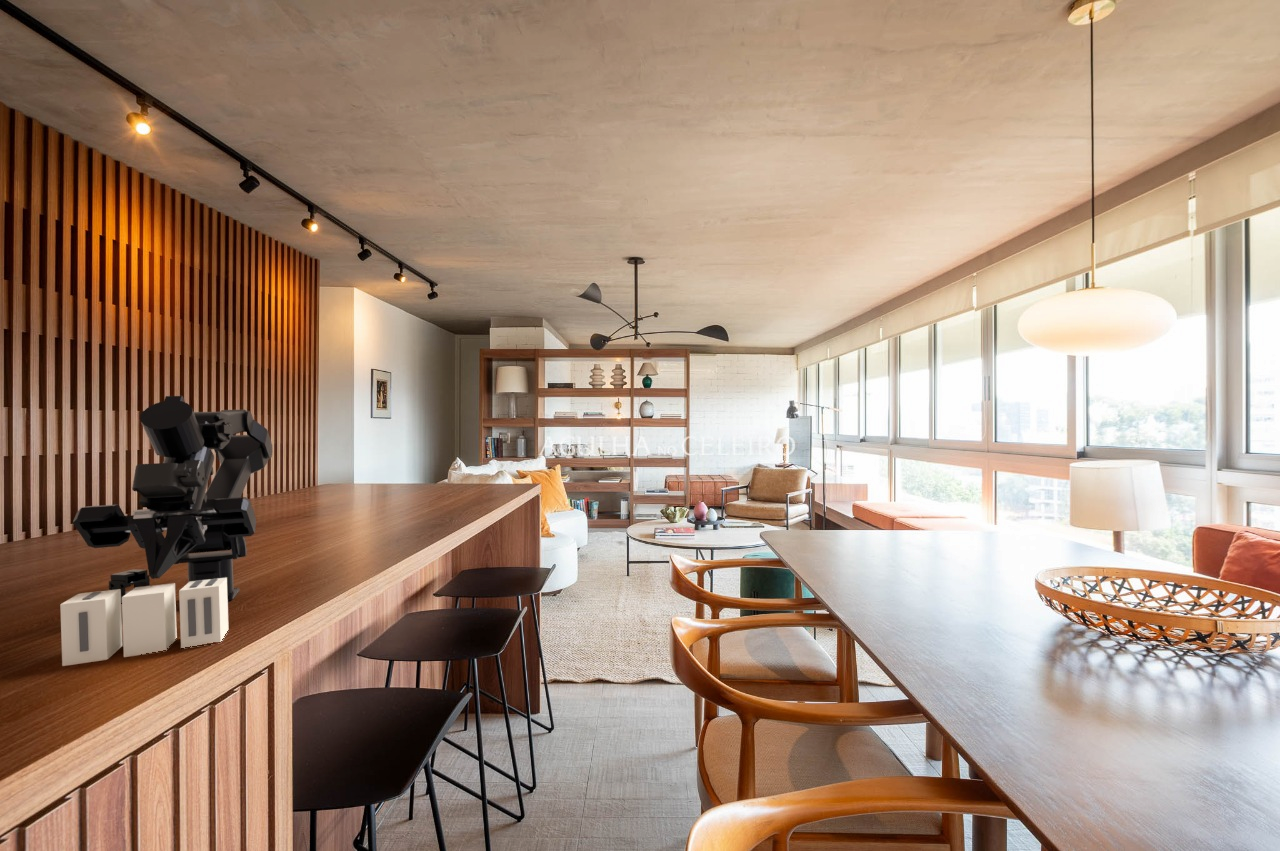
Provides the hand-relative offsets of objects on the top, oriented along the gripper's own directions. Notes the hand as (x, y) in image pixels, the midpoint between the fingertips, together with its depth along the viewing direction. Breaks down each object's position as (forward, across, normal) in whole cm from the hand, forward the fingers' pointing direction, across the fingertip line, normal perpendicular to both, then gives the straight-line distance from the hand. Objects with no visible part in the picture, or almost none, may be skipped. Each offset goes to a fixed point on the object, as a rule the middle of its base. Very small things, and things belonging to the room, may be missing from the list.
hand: (154, 576), depth 76 cm
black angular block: (-14, -13, +27) cm, 33 cm away
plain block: (+7, 0, +5) cm, 8 cm away
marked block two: (+6, +6, +5) cm, 10 cm away
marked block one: (+7, -6, +4) cm, 10 cm away
